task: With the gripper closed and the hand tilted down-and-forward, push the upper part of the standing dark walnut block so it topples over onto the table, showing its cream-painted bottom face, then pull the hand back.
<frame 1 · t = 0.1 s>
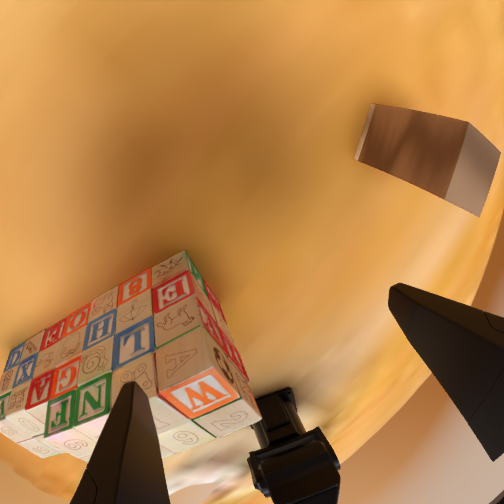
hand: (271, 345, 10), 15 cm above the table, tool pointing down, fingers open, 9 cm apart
stack of blocks: (101, 329, 25), on the table
walnut block: (384, 140, 24), on the table
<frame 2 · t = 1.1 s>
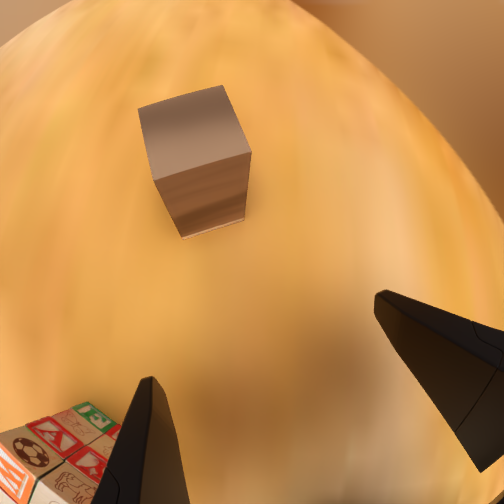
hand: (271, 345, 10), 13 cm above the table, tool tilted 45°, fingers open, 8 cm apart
stack of blocks: (77, 497, 18), on the table
walnut block: (204, 202, 25), on the table
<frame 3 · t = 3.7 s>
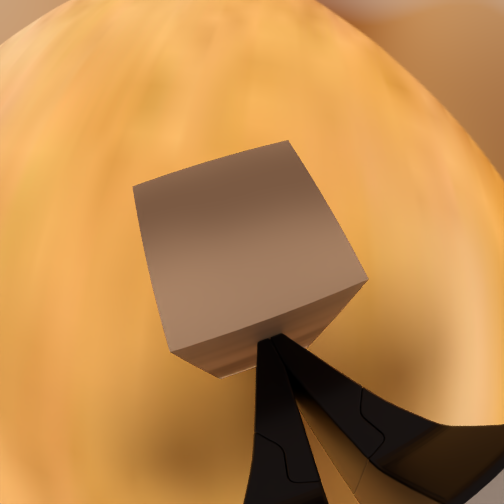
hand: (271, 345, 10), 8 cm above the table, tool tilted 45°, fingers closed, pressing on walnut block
walnut block: (248, 321, 17), on the table, tilted 11°, touching gripper
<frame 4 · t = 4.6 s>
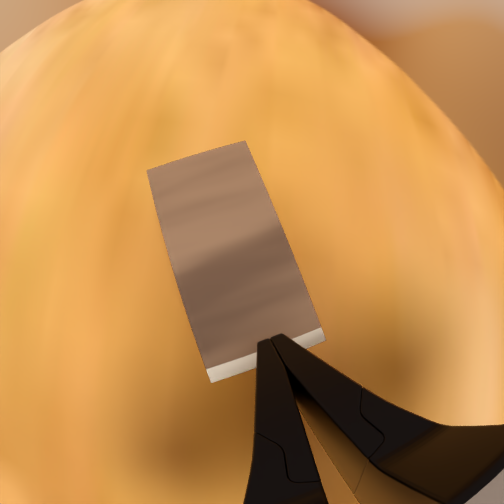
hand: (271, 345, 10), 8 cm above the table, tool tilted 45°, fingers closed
walnut block: (264, 358, 14), point 2 cm above the table, tilted 90°
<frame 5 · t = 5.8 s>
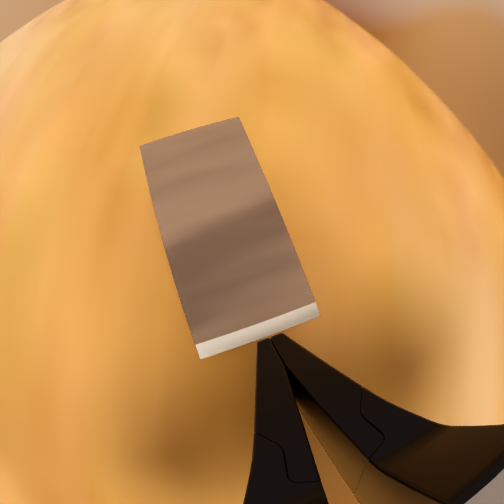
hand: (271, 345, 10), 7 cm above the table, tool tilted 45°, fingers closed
walnut block: (256, 337, 14), point 2 cm above the table, tilted 90°
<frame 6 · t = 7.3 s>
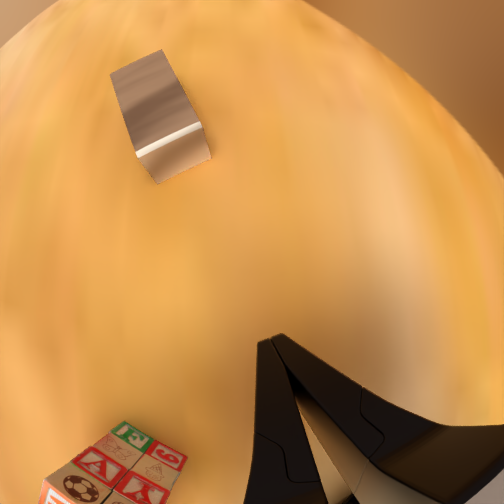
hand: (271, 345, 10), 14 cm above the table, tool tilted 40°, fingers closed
walnut block: (177, 157, 23), point 2 cm above the table, tilted 90°
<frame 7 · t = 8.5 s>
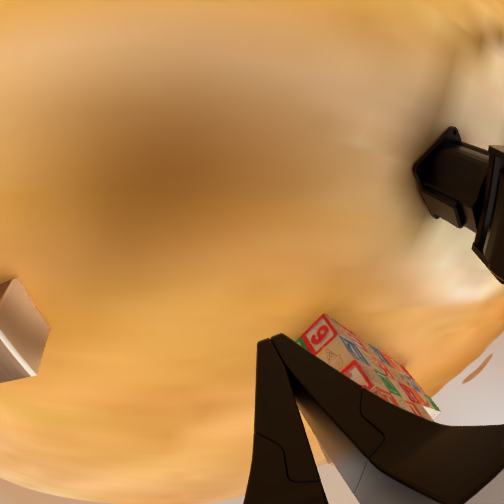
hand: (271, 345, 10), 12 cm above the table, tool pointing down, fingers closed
stack of blocks: (353, 363, 33), on the table
walnut block: (25, 325, 17), point 2 cm above the table, tilted 90°
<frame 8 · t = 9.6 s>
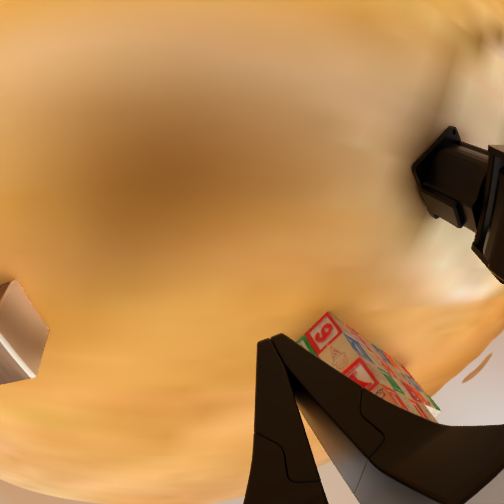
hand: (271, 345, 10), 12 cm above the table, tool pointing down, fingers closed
stack of blocks: (355, 362, 33), on the table
walnut block: (24, 326, 17), point 2 cm above the table, tilted 90°
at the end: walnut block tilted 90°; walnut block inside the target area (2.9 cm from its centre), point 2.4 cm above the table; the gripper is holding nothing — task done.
